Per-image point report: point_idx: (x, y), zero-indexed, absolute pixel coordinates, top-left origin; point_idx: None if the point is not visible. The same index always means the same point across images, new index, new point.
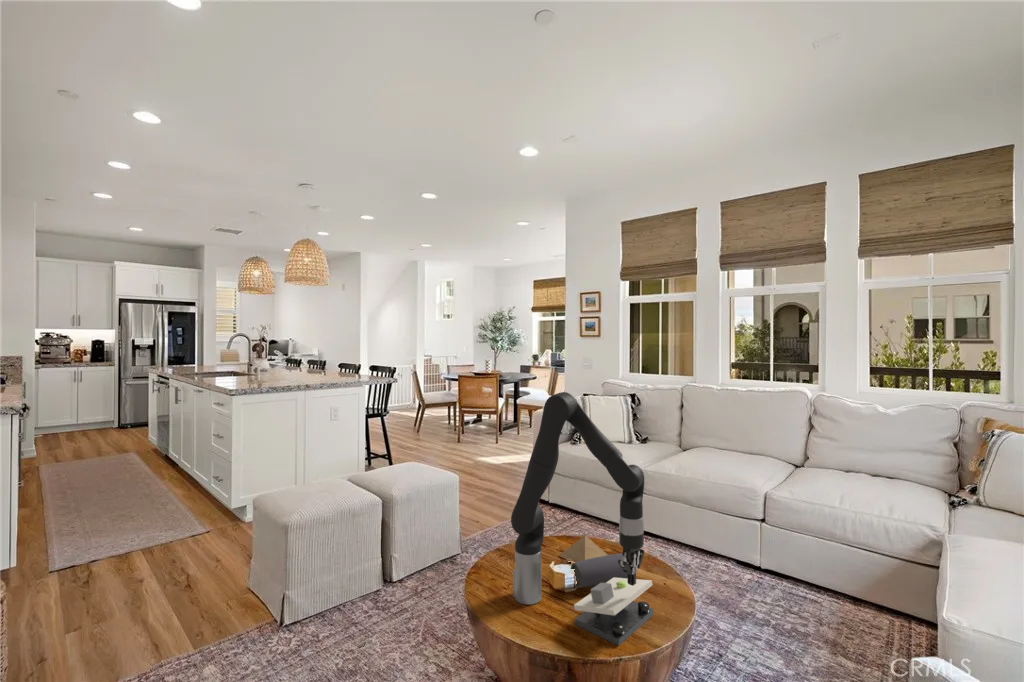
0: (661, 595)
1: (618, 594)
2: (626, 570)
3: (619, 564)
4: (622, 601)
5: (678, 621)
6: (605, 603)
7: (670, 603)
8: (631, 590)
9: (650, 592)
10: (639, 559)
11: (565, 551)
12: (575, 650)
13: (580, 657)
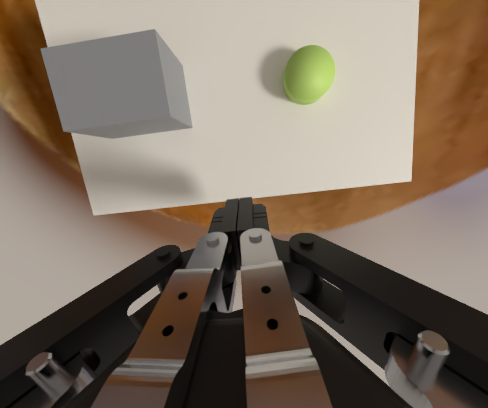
0: (464, 112)
1: (219, 133)
2: (158, 285)
3: (12, 345)
4: (169, 198)
5: (348, 213)
6: (121, 141)
7: (426, 157)
8: (278, 162)
9: (469, 71)
10: (346, 332)
11: None
12: (50, 121)
13: (51, 149)
